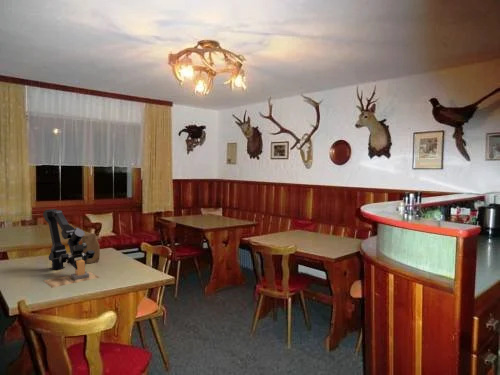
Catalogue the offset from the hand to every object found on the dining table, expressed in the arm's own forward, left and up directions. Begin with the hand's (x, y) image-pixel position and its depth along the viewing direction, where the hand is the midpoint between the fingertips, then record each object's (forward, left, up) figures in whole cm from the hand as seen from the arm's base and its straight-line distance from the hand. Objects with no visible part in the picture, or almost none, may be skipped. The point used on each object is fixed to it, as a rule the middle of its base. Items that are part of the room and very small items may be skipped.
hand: (80, 268), depth 209 cm
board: (-3, -4, -7) cm, 8 cm away
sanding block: (-1, +1, -6) cm, 6 cm away
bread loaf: (-24, +31, -7) cm, 39 cm away
